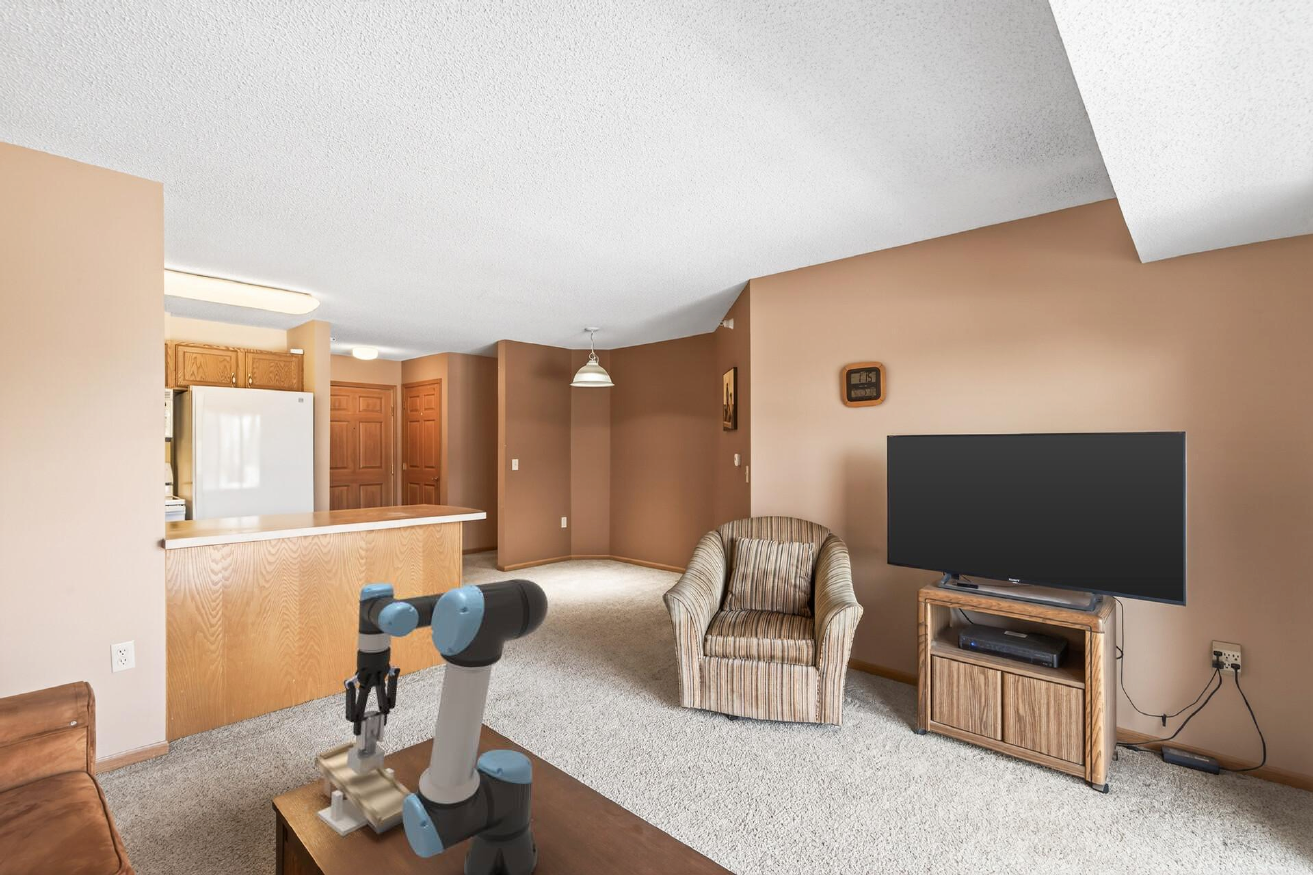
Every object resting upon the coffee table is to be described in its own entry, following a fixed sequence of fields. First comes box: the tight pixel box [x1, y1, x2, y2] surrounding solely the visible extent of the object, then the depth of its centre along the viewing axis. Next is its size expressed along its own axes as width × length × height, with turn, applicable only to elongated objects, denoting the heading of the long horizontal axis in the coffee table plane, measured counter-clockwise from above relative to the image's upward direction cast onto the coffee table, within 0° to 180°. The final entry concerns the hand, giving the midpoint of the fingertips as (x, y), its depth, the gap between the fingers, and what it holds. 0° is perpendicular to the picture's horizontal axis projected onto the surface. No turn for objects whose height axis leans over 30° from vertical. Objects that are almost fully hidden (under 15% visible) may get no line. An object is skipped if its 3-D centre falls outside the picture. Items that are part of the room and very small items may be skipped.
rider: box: [347, 710, 386, 776], centre depth 147 cm, size 6×6×13 cm
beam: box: [314, 741, 412, 835], centre depth 147 cm, size 30×11×5 cm, turn 54°
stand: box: [317, 767, 395, 837], centre depth 149 cm, size 20×16×7 cm
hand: (369, 743), depth 146 cm, fingers closed on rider, 4 cm apart
